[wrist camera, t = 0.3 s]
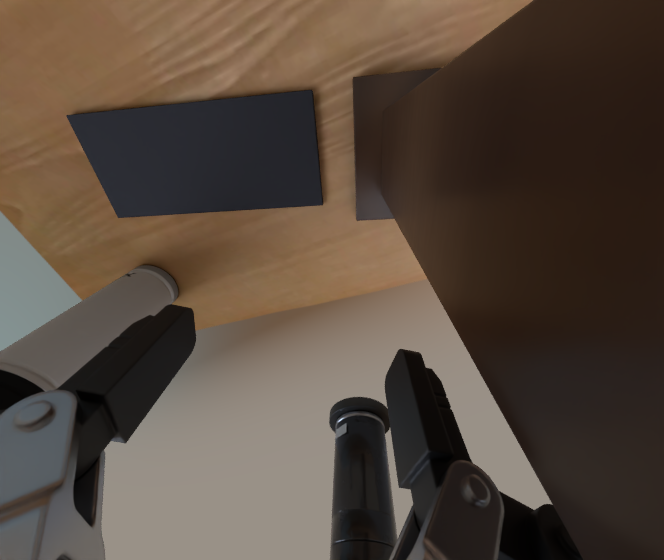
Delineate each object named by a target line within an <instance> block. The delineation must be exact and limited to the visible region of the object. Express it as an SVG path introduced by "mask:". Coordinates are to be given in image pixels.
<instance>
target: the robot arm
mask: <svg viewBox="0 0 664 560" xmlns="http://www.w3.org/2000/svg"><path fill="white" fill-rule="evenodd" d="M195 342H196V333H195V323H194V313H193V310H192V309H191V308H187V307H182V306H177V305H172V304H169V305H166V306H165V307H164V308H163V309H162V310H161V311H160V312H158V313H157V314H156V315H155V316H152V315H148V316H146V317H144V318H142V319H140V320H138V321H136V322H134V323H132V324H131V325H130V326H129V327H128V328H127V329H126V330H124V331H123V332H122V333H121V334H120V336H119V337H116V338H115V339H114V340H113V341H112V342H110V343H109V345H108V347H105V348H104V349H102V350H101V351H100V352H99V353H98V354H97V355H95V356H94V357H93V358H92V359H91V360H90V361H88V362H87V363H86V364H85V365H84V366H83V367H82V368H80V369H79V370H78V371H77V372H76V373H75V374H73V375H72V376H71V377H70V378H69V379H68V380H67V381H65V382H64V383H63V384H62V385H61V386H59V387H58V388H57V389H55V390H49V391H45V392H41V393H37V394H34V395H32V396H29V397H27V398H25V399H23V400H21V401H19V402H17V403H16V404H14V405H12V406H11V407H10V408H8V409H5V410H0V560H105V549H104V544H103V538H102V531H101V519H102V502H103V485H104V468H105V452H104V449H105V447H106V446H107V445H108V444H109V442H110V441H116V442H121V443H126V442H127V441H128V440H129V438H130V437H131V435H132V434H133V433H134V431H135V430H136V429H137V427H138V426H139V424H140V423H141V422H142V420H143V419H144V418H145V416H146V415H147V413H148V412H149V411H150V409H151V408H152V406H153V405H154V404H155V402H156V401H157V399H158V398H159V397H160V396H161V394H162V393H163V391H164V390H165V389H166V387H167V386H168V385H169V383H170V382H171V380H172V379H173V378H174V376H175V375H176V374H177V372H178V371H179V369H180V368H181V367H182V365H183V364H184V363H185V361H186V360H187V358H188V357H189V356H190V354H191V353H192V351H193V349H194V346H195ZM385 393H386V400H387V407H388V414H389V421H390V428H391V435H392V442H393V449H394V456H395V462H396V470H397V477H398V485H399V488H406V489H411V493H412V498H413V506H412V508H411V510H410V513H409V515H408V517H407V519H406V522H405V524H404V526H403V529H402V531H401V533H400V535H399V538H398V540H397V532H396V523H395V516H394V507H393V499H392V491H391V482H390V474H389V465H388V457H387V449H386V440H385V432H384V431H385V427H384V421H383V420H382V418H381V417H380V416H378V415H377V414H375V413H372V412H369V411H364V410H353V411H348V412H346V413H343V414H342V415H340V416H339V417H338V418H337V420H336V426H335V429H336V439H335V442H336V443H335V459H334V481H333V504H332V505H333V506H332V529H331V551H330V560H583V558H582V556H581V555H580V553H579V551H578V549H577V547H576V546H575V544H574V542H573V540H572V538H571V537H570V535H569V533H568V531H567V529H566V527H565V526H564V524H563V522H562V520H561V518H560V517H559V515H558V513H557V511H556V509H555V508H554V506H553V505H551V504H544V505H542V506H541V507H539V508H537V509H536V510H533V509H531V508H529V507H527V506H526V505H524V504H522V503H520V502H518V501H516V500H515V499H513V498H511V497H509V496H507V495H505V494H503V493H501V492H500V491H498V489H497V487H496V486H495V484H494V483H493V481H492V480H491V479H490V477H489V476H488V475H487V474H486V473H485V472H484V471H483V470H482V469H481V468H479V467H478V466H476V465H475V464H473V463H472V461H471V459H470V457H469V454H468V452H467V449H466V446H465V444H464V441H463V439H462V436H461V433H460V430H459V428H458V425H457V422H456V420H455V417H454V414H453V412H452V410H451V409H450V407H451V406H450V404H449V402H448V398H446V393H445V390H444V388H443V385H442V382H441V381H440V379H439V378H438V377H437V375H436V374H435V373H434V371H433V370H432V369H429V368H426V367H425V364H424V361H423V358H422V355H421V354H420V353H419V352H414V351H408V350H404V349H399V350H398V352H397V354H396V356H395V358H394V360H393V362H392V364H391V366H390V368H389V370H388V372H387V375H386V379H385Z"/></svg>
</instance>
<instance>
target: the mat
mask: <svg viewBox="0 0 664 560" xmlns="http://www.w3.org/2000/svg"><path fill="white" fill-rule="evenodd" d="M66 116H67V118H68V120H69V122H70V124H71V126H72V128H73V130H74V132H75V134H76V136H77V138H78V140H79V142H80V144H81V146H82V148H83V150H84V152H85V154H86V155H87V157H88V159H89V161H90V163H91V165H92V167H93V169H94V171H95V173H96V175H97V177H98V179H99V181H100V183H101V185H102V187H103V189H104V191H105V193H106V195H107V197H108V199H109V201H110V203H111V205H112V207H113V208H114V210H115V212H116V214H117V216H118V218H124V217H140V216H156V215H172V214H188V213H204V212H220V211H236V210H252V209H269V208H285V207H301V206H317V205H323V198H322V187H321V176H320V165H319V154H318V143H317V132H316V121H315V110H314V99H313V91H312V90H304V91H294V92H285V93H275V94H266V95H256V96H247V97H237V98H227V99H218V100H208V101H199V102H189V103H179V104H170V105H160V106H151V107H141V108H131V109H122V110H112V111H103V112H93V113H83V114H74V115H66Z"/></svg>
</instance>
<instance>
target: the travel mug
mask: <svg viewBox="0 0 664 560" xmlns="http://www.w3.org/2000/svg"><path fill="white" fill-rule="evenodd" d="M177 296H178V287H177V285H176V283H175V281H174V279H173V278H172V277H171V276H170V275H169V274H168V273H166V272H165V271H163V270H162V269H160V268H157V267H154V266H149V265H142V266H139V267H137V268H135V269H133V270H132V271H130V272H129V273H127V274H125V275H124V276H122V277H120V278H119V279H117V280H115V281H114V282H112V283H111V284H109V285H107V286H106V287H104V288H102V289H101V290H99V291H98V292H96V293H94V294H93V295H91V296H90V297H88V298H86V299H85V300H83V301H81V302H80V303H78V304H77V305H75V306H73V307H72V308H70V309H68V310H67V311H65V312H64V313H62V314H60V315H59V316H57V317H56V318H54V319H52V320H51V321H49V322H48V323H46V324H44V325H43V326H41V327H39V328H38V329H36V330H34V331H33V332H31V333H30V334H28V335H26V336H25V337H23V338H22V339H20V340H18V341H17V342H15V343H13V344H12V345H10V346H9V347H7V348H5V349H4V350H2V351H0V410H5V409H8V408H10V407H11V406H12V405H14V404H16V403H17V402H19V401H21V400H23V399H25V398H27V397H29V396H32V395H34V394H37V393H41V392H45V391H49V390H55V389H57V388H58V387H59V386H61V385H62V384H63V383H64V382H65V381H67V380H68V379H69V378H70V377H71V376H72V375H73V374H75V373H76V372H77V371H78V370H79V369H80V368H82V367H83V366H84V365H85V364H86V363H87V362H88V361H90V360H91V359H92V358H93V357H94V356H95V355H97V354H98V353H99V352H100V351H101V350H102V349H104V348H105V347H108V345H109V343H110V342H112V341H113V340H114V339H115V338H116V337H119V336H120V334H121V333H122V332H123V331H124V330H126V329H127V328H128V327H129V326H130V325H131V324H132V323H134V322H136V321H138V320H140V319H142V318H144V317H146V316H148V315H152V316H155V315H156V314H157V313H158V312H160V311H161V310H162V309H163V308H164V307H165V306H166V305H169V304H172V303H173V302H174V301H175V300H176V298H177Z"/></svg>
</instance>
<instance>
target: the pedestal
mask: <svg viewBox="0 0 664 560" xmlns="http://www.w3.org/2000/svg"><path fill="white" fill-rule="evenodd" d="M353 111H354V150H355V188H356V219H357V221H359V220H377V219H395V220H396V222H397V224H398V226H399V228H400V229H401V231H402V233H403V235H404V237H405V238H406V240H407V242H408V244H409V246H410V247H411V249H412V251H413V253H414V255H415V256H416V258H417V260H418V262H419V264H420V266H421V267H422V269H423V271H424V273H425V275H426V276H427V278H428V280H429V282H430V284H431V285H432V287H433V289H434V291H435V293H436V294H437V296H438V298H439V300H440V302H441V303H442V305H443V307H444V309H445V310H446V312H447V314H448V316H449V318H450V320H451V322H452V323H453V325H454V327H455V329H456V330H457V332H458V334H459V336H460V338H461V340H462V341H463V343H464V345H465V347H466V349H467V350H468V352H469V354H470V356H471V358H472V359H473V361H474V363H475V365H476V367H477V369H478V370H479V372H480V374H481V376H482V377H483V379H484V381H485V383H486V385H487V387H488V388H489V390H490V392H491V394H492V395H493V397H494V399H495V401H496V403H497V404H498V406H499V408H500V410H501V412H502V413H503V415H504V417H505V419H506V421H507V423H508V424H509V426H510V428H511V430H512V432H513V434H514V435H515V437H516V439H517V441H518V443H519V444H520V446H521V448H522V450H523V451H524V453H525V455H526V457H527V459H528V461H529V462H530V464H531V466H532V468H533V470H534V471H535V473H536V475H537V477H538V478H539V481H540V482H541V484H542V486H543V488H544V489H545V491H546V493H547V495H548V496H549V498H550V500H551V502H552V504H553V506H554V508H555V509H556V511H557V513H558V515H559V517H560V518H561V520H562V522H563V524H564V526H565V527H566V529H567V531H568V533H569V535H570V537H571V538H572V540H573V542H574V544H575V546H576V547H577V549H578V551H579V553H580V555H581V556H582V558H583V560H664V0H533V1H532V2H531V3H529V4H528V5H527V6H525V7H524V8H522V9H521V10H520V11H518V12H517V13H516V14H514V15H513V16H512V17H510V18H509V19H508V20H506V21H505V22H503V23H502V24H501V25H499V26H498V27H497V28H495V29H494V30H493V31H491V32H490V33H489V34H487V35H486V36H484V37H483V38H482V39H480V40H479V41H478V42H476V43H475V44H474V45H472V46H471V47H470V48H468V49H467V50H465V51H464V52H463V53H461V54H460V55H459V56H457V57H456V58H455V59H453V60H452V61H451V62H449V63H448V64H447V65H445V66H444V67H442V68H434V69H425V70H416V71H406V72H397V73H388V74H378V75H369V76H360V77H353Z"/></svg>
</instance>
